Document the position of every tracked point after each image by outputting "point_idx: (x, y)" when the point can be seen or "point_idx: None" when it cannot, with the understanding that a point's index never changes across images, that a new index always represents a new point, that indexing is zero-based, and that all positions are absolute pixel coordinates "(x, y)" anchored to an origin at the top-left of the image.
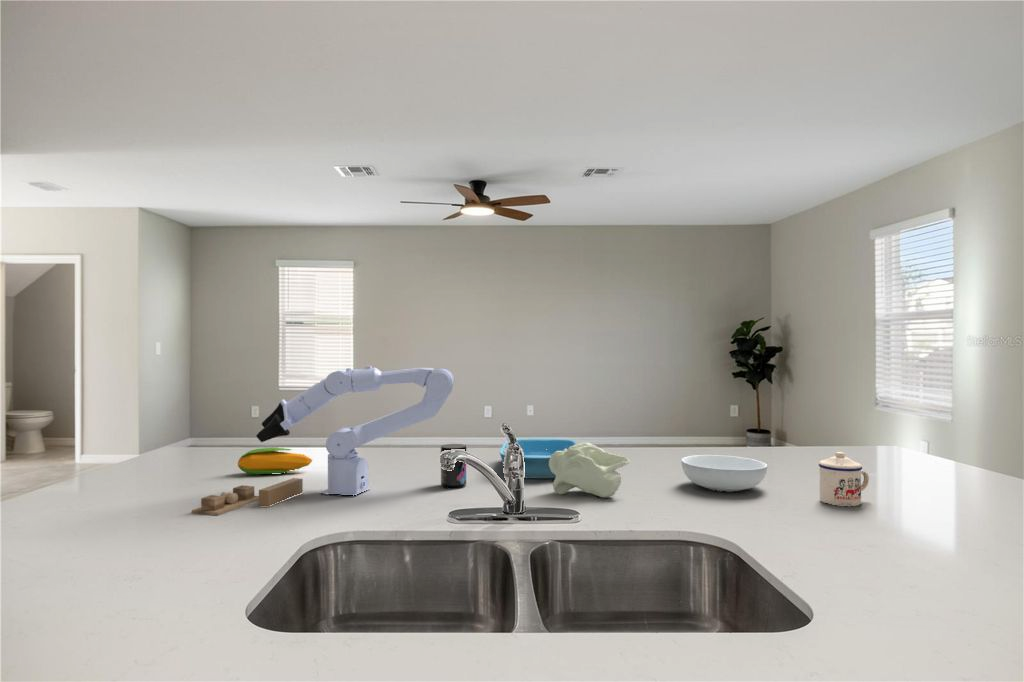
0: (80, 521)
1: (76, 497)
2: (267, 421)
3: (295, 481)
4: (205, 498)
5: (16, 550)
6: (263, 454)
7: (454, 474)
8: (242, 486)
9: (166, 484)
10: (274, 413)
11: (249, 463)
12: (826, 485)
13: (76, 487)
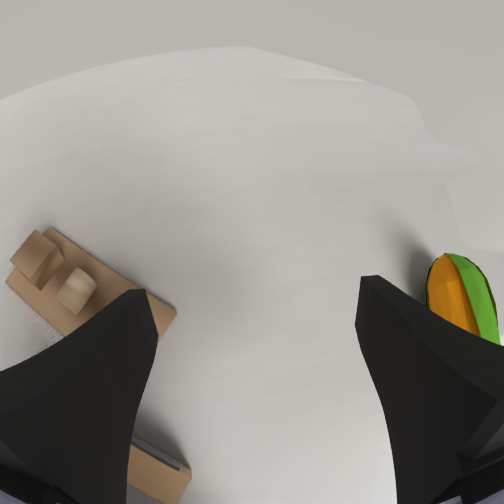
0: (91, 103)
1: (252, 77)
2: (377, 312)
3: (133, 486)
4: (27, 238)
5: (3, 101)
6: (467, 309)
7: None
8: None
9: (338, 155)
10: (423, 355)
11: (435, 284)
12: None
13: (316, 77)
